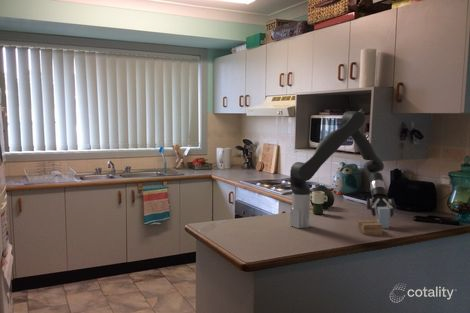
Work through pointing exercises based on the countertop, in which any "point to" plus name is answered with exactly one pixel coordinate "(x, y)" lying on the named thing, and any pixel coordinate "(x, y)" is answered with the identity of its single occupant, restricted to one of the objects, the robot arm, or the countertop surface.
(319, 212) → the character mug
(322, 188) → the squash
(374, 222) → the layered tan block
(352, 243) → the countertop surface
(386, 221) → the grey pillar block
